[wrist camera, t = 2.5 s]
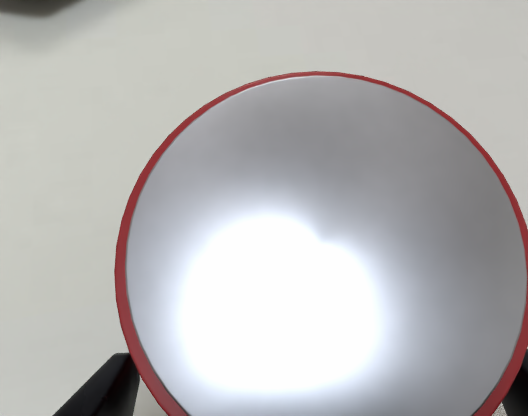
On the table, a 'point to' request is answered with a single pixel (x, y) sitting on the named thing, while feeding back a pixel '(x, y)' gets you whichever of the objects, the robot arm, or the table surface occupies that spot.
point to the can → (323, 258)
